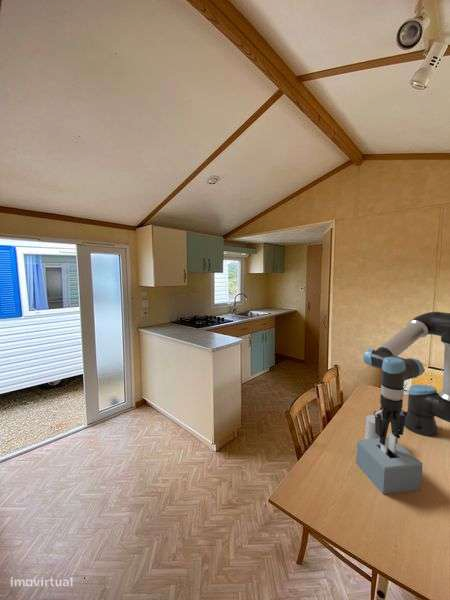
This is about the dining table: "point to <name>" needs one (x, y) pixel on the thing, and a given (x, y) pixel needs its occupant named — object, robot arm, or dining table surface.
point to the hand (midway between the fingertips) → (387, 450)
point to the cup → (370, 427)
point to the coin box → (389, 467)
